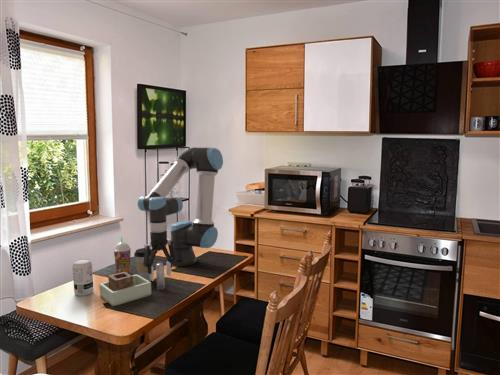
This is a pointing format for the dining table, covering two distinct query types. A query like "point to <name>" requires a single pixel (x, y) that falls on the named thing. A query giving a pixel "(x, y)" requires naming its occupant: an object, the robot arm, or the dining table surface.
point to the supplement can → (82, 277)
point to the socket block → (120, 281)
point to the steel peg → (160, 276)
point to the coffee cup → (141, 263)
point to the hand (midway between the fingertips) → (160, 277)
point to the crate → (126, 291)
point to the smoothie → (122, 257)
